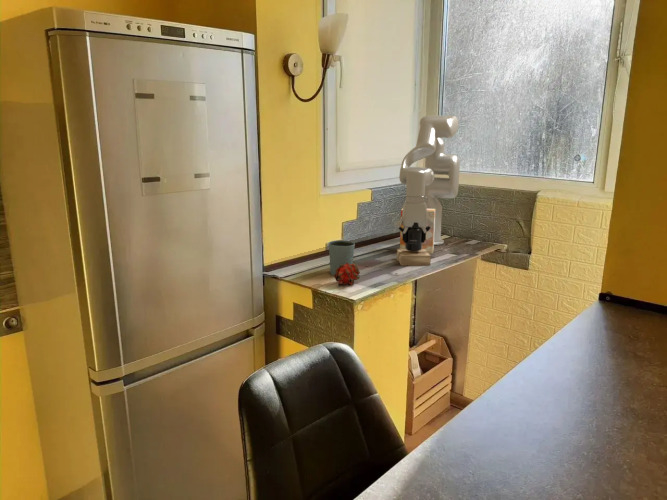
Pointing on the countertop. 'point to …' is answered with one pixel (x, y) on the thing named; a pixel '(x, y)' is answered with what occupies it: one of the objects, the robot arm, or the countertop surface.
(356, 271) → the dragon fruit
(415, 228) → the supplement bottle
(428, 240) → the coffeecake box
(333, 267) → the grey-green cup
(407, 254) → the base
